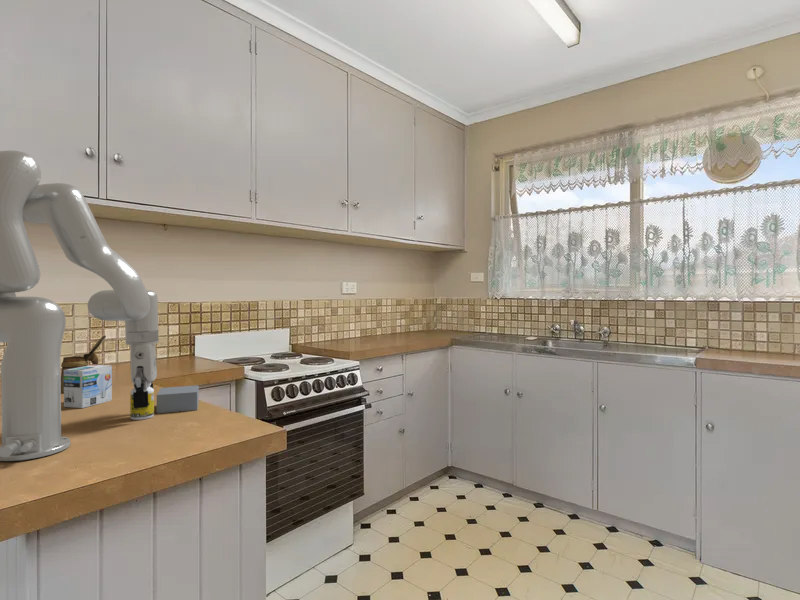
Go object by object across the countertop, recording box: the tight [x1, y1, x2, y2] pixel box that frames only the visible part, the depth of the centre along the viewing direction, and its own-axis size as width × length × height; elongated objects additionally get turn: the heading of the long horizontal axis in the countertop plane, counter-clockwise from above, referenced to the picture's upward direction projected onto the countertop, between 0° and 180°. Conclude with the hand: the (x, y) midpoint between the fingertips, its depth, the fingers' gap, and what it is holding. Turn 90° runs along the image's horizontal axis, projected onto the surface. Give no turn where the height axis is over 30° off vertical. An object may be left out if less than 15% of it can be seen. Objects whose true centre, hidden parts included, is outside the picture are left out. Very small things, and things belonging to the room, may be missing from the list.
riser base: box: [156, 385, 200, 414], centre depth 131 cm, size 10×10×5 cm
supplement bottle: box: [129, 381, 155, 421], centre depth 120 cm, size 5×5×10 cm
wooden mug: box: [60, 335, 107, 394], centre depth 155 cm, size 9×14×18 cm, turn 127°
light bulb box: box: [63, 364, 113, 409], centre depth 135 cm, size 11×7×11 cm, turn 168°
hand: (143, 402), depth 121 cm, fingers open, 9 cm apart
